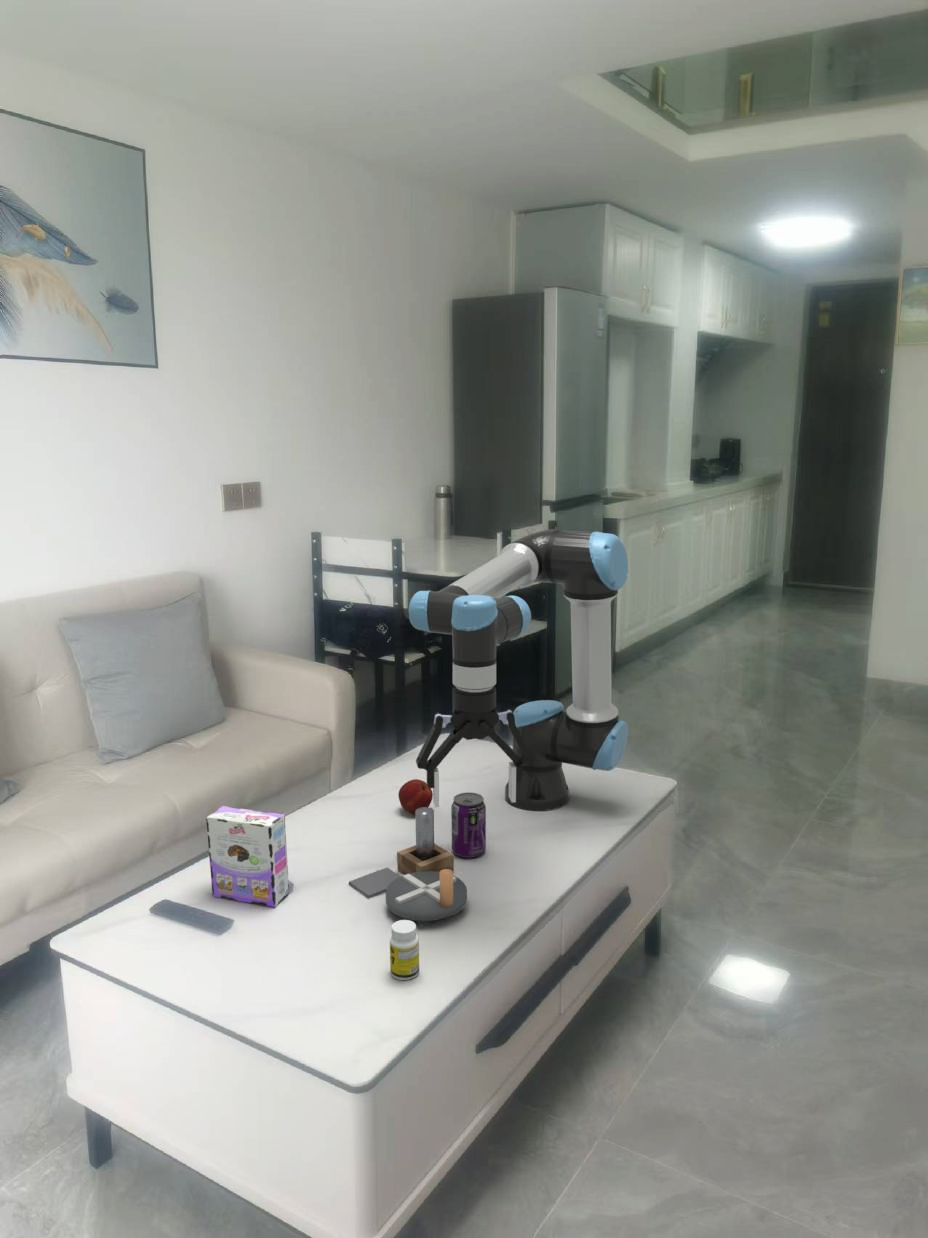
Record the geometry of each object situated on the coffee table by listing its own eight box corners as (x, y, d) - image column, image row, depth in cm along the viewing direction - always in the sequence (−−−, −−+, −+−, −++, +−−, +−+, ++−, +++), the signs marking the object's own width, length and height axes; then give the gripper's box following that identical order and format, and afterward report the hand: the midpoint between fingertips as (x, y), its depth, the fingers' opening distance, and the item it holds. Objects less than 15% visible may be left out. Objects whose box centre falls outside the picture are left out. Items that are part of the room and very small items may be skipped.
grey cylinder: (427, 865, 187) (426, 805, 184) (438, 872, 184) (437, 811, 181) (412, 871, 184) (411, 810, 182) (423, 878, 182) (422, 816, 179)
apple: (419, 822, 206) (419, 788, 205) (391, 814, 210) (390, 781, 209) (438, 810, 213) (437, 777, 211) (410, 803, 217) (409, 771, 215)
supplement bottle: (390, 964, 153) (389, 918, 151) (418, 963, 154) (418, 917, 152) (390, 982, 148) (389, 934, 147) (420, 980, 149) (419, 933, 147)
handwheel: (434, 871, 181) (433, 834, 179) (483, 901, 169) (483, 862, 168) (370, 896, 172) (368, 857, 170) (418, 930, 160) (417, 889, 158)
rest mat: (387, 870, 185) (386, 867, 185) (407, 883, 180) (407, 880, 179) (348, 884, 179) (348, 881, 179) (368, 898, 174) (368, 895, 174)
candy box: (290, 893, 176) (286, 813, 172) (274, 909, 171) (270, 826, 167) (228, 882, 181) (222, 803, 177) (210, 897, 175) (204, 816, 171)
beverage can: (482, 861, 188) (482, 806, 186) (448, 858, 190) (447, 804, 187) (488, 846, 195) (488, 792, 192) (455, 843, 196) (455, 790, 194)
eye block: (429, 858, 190) (429, 840, 189) (453, 873, 184) (453, 854, 183) (397, 870, 185) (397, 852, 184) (421, 885, 179) (421, 866, 178)
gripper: (540, 676, 164) (538, 789, 168) (399, 683, 160) (401, 798, 165) (550, 688, 157) (548, 805, 161) (403, 695, 153) (405, 815, 157)
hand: (474, 802), depth 163 cm, fingers open, 13 cm apart
